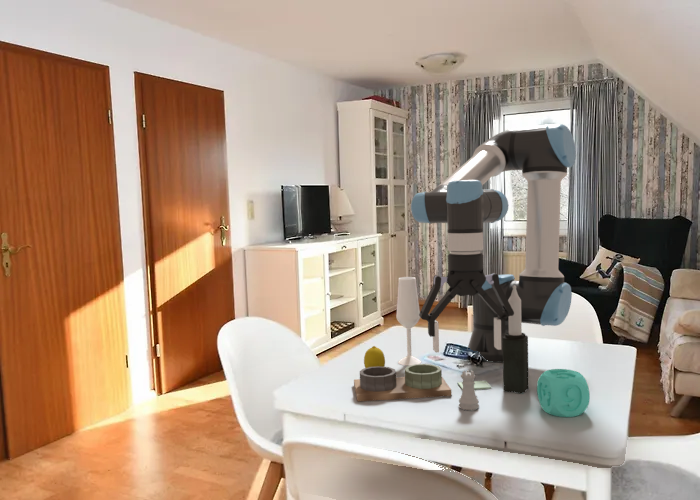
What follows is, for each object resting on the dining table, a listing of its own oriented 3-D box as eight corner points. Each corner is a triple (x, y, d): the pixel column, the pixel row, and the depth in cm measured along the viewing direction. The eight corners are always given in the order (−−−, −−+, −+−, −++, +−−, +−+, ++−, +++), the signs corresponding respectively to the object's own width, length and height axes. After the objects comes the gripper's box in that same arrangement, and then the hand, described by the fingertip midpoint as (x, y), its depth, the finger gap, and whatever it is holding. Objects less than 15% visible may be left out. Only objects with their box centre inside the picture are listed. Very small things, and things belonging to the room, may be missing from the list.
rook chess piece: (480, 404, 132) (479, 369, 131) (478, 411, 128) (477, 375, 127) (460, 403, 133) (459, 368, 133) (457, 410, 129) (456, 374, 129)
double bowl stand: (440, 380, 150) (440, 361, 150) (451, 396, 138) (451, 375, 138) (354, 385, 149) (353, 365, 149) (357, 401, 137) (356, 380, 137)
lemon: (383, 379, 153) (382, 348, 153) (362, 378, 154) (361, 348, 154) (386, 373, 159) (385, 343, 158) (366, 372, 160) (365, 343, 159)
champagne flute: (405, 366, 164) (402, 280, 162) (393, 361, 170) (390, 277, 168) (426, 363, 166) (423, 278, 164) (413, 357, 172) (411, 275, 170)
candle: (523, 394, 138) (522, 287, 136) (502, 391, 141) (500, 286, 138) (529, 387, 142) (528, 284, 140) (508, 384, 145) (506, 283, 143)
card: (485, 382, 148) (485, 380, 147) (491, 388, 143) (491, 387, 143) (457, 383, 147) (457, 382, 147) (462, 390, 142) (462, 388, 142)
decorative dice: (571, 402, 131) (571, 367, 130) (590, 415, 123) (590, 378, 123) (536, 405, 130) (536, 370, 130) (553, 419, 122) (553, 381, 122)
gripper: (516, 249, 132) (517, 343, 134) (405, 253, 131) (407, 348, 132) (528, 251, 125) (529, 351, 126) (410, 256, 123) (413, 356, 125)
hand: (466, 349), depth 129 cm, fingers open, 13 cm apart
